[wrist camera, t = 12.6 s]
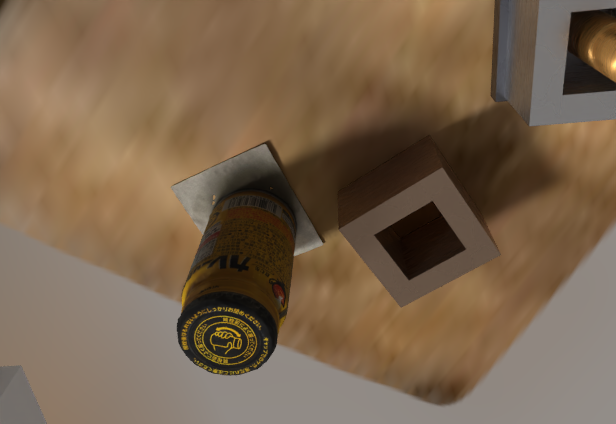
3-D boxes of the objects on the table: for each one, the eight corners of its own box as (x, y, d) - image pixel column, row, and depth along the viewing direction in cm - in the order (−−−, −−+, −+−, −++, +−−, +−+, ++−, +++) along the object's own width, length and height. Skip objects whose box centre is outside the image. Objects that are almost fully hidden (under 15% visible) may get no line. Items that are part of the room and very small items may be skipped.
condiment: (234, 279, 43) (202, 404, 32) (171, 185, 39) (112, 291, 29) (323, 242, 41) (321, 362, 31) (266, 141, 38) (240, 237, 27)
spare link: (337, 192, 39) (338, 229, 35) (429, 135, 37) (442, 167, 33) (393, 264, 42) (400, 307, 37) (482, 214, 40) (500, 254, 35)
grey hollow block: (511, -31, 31) (540, -19, 27) (647, -45, 31) (701, -35, 26) (504, 96, 34) (529, 126, 30) (627, 86, 34) (671, 114, 30)
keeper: (497, -47, 32) (561, -25, 23) (649, -64, 31) (777, -47, 22) (490, 95, 36) (544, 163, 27) (627, 83, 35) (728, 148, 26)
